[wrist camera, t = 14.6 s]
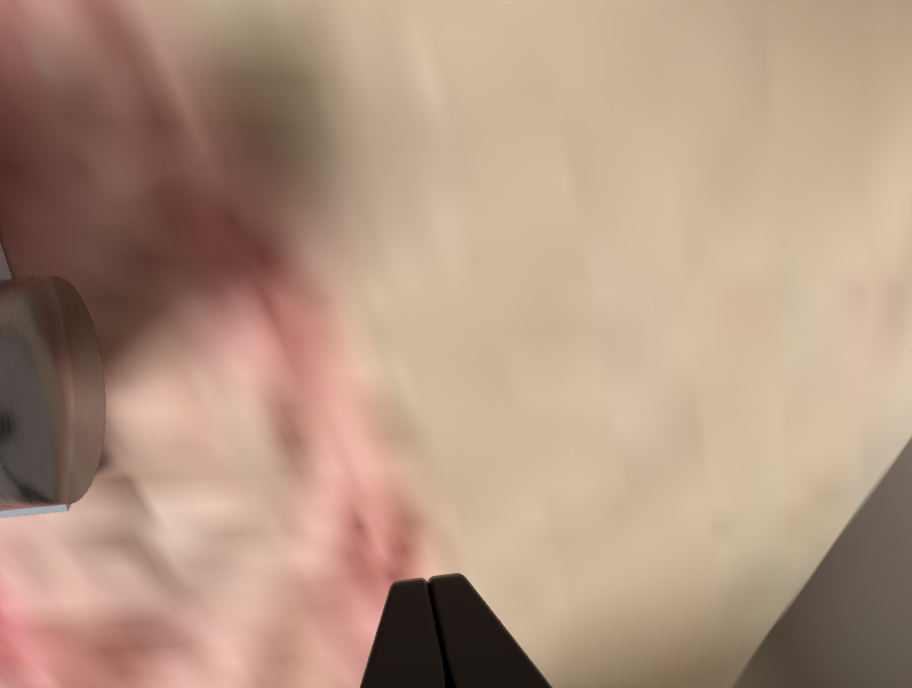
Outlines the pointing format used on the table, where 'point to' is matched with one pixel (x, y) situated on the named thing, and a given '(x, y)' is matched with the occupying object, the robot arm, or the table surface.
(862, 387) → the table surface
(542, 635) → the table surface
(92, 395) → the shaft
